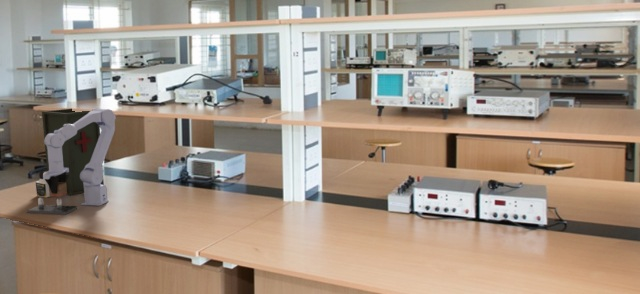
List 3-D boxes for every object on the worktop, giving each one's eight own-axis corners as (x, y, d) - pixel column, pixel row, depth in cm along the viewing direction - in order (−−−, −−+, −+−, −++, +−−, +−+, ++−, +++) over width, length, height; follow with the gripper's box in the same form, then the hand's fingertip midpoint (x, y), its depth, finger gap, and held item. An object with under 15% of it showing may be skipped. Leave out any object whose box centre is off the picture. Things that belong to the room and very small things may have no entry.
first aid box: (71, 195, 273) (65, 113, 266) (48, 190, 282) (41, 111, 276) (104, 187, 288) (98, 110, 282) (81, 183, 298) (75, 108, 291)
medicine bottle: (36, 196, 272) (34, 171, 270) (49, 192, 279) (47, 169, 277) (46, 197, 269) (44, 173, 267) (59, 194, 275) (57, 170, 273)
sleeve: (67, 193, 248) (66, 182, 247) (60, 196, 243) (59, 185, 242) (56, 193, 249) (55, 182, 248) (49, 196, 244) (48, 184, 243)
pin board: (77, 208, 250) (76, 196, 249) (65, 214, 242) (64, 201, 241) (40, 207, 253) (39, 194, 252) (27, 212, 245) (26, 199, 244)
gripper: (57, 157, 251) (60, 187, 253) (36, 164, 237) (39, 195, 239) (72, 158, 250) (74, 187, 252) (51, 164, 236) (54, 196, 238)
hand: (58, 191), depth 245 cm, fingers closed on sleeve, 5 cm apart
